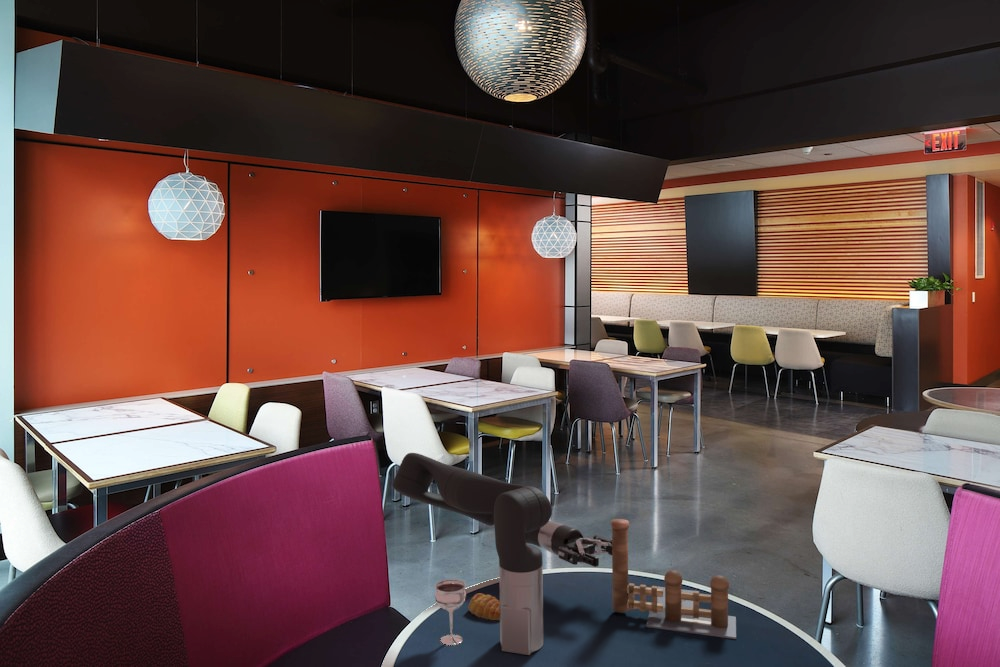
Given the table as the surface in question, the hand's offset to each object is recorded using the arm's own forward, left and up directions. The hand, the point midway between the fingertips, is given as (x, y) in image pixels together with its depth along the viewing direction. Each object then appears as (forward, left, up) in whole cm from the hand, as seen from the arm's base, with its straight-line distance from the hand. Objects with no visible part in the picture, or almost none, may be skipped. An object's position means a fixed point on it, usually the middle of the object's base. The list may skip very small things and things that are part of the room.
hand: (609, 558), depth 163 cm
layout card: (+4, -19, -12) cm, 23 cm away
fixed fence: (-2, -20, -12) cm, 23 cm away
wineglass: (-25, +30, -12) cm, 41 cm away
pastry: (-10, +27, -13) cm, 32 cm away
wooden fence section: (-2, -7, -11) cm, 13 cm away
